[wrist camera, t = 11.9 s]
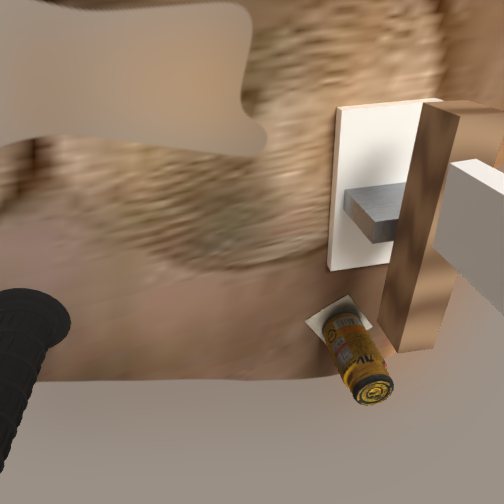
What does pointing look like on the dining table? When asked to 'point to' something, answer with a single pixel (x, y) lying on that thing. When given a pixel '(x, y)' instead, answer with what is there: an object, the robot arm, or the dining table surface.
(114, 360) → the dining table surface
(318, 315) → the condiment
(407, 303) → the walnut batten
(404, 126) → the white board
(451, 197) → the robot arm
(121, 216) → the dining table surface
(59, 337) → the handle grip
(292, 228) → the dining table surface
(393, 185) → the steel ridge
